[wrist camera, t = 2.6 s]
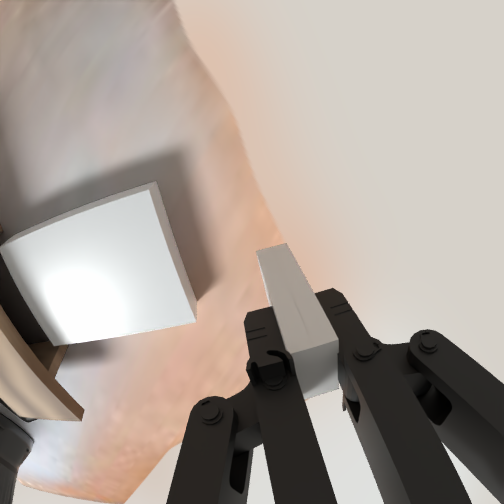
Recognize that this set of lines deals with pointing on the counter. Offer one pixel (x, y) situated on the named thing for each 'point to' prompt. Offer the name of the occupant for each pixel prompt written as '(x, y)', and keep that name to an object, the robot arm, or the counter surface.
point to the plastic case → (103, 269)
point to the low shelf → (33, 377)
